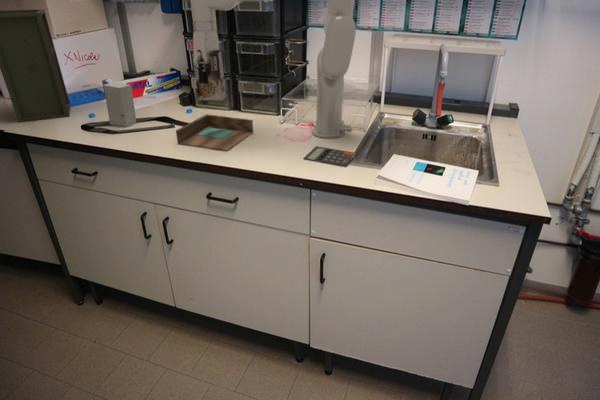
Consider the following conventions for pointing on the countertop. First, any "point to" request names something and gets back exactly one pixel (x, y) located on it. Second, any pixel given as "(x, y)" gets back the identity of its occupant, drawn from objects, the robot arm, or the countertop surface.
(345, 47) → the robot arm
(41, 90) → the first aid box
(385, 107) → the countertop surface
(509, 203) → the countertop surface
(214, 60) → the coffee box
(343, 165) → the calculator
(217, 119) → the tray
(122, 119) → the skincare box
